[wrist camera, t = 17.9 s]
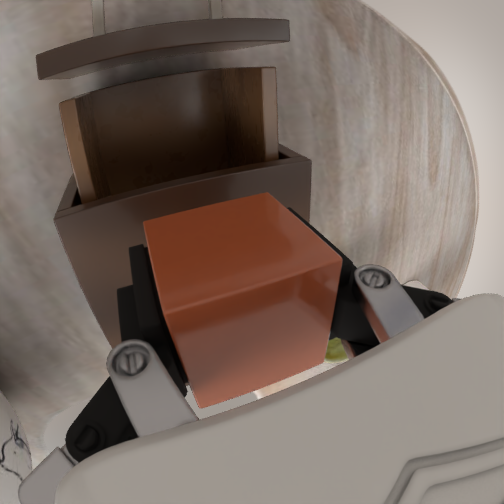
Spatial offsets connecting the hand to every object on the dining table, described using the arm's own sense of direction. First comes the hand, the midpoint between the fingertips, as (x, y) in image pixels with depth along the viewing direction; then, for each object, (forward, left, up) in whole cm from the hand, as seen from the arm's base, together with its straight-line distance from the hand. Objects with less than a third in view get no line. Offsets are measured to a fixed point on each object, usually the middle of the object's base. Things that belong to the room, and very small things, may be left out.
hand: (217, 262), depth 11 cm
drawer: (-5, 0, -12) cm, 13 cm away
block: (0, 0, 0) cm, 0 cm away
